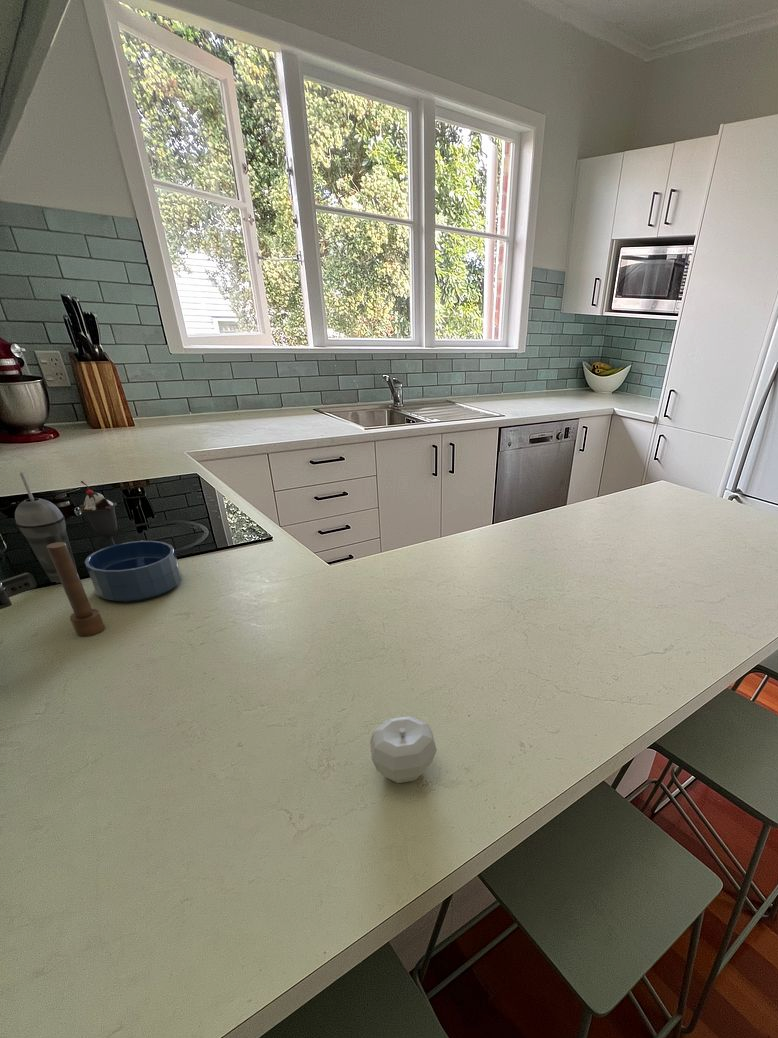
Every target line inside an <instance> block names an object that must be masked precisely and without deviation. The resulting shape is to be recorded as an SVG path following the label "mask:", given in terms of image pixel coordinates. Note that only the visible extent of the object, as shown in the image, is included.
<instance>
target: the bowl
mask: <svg viewBox="0 0 778 1038" xmlns="http://www.w3.org/2000/svg"><path fill="white" fill-rule="evenodd" d="M115 544H116V545H113V546H109V547H108V546H106V547H103V548H100V549H99V550H96V551H94V552H92V553H90V554H89V555H88V556H87V557H86V558H85V560H84V566H85V568H86V570H87V574H88V576H89V578H90V582H91V584H92V587H93V589H94V591H95V593H96V596H98V597H99V598H102V599H104V600H109V601H114V602H118V603H119V602H121V603H130V602H131V603H132V602H140V601H141V602H142V601H146V600H150V599H154V598H157V597H159V596H162V595H165V594H167V593H168V592H170V591H172V590H173V589H174V588H175V587H176V586H177V585H179V583H181V581H182V576H183V575H182V572H181V568H180V564H179V561H178V558H177V555H176V551H175V548H174V547H173V546H172V544H170V543H167V542H164V541H158V540H137V541H136V540H135V541H126V542H122V543H115Z"/></svg>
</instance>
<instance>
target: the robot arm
mask: <svg viewBox="0 0 778 1038" xmlns="http://www.w3.org/2000/svg"><path fill="white" fill-rule="evenodd" d="M0 575H2V569H1V568H0ZM37 584H38V583H37V581H36V579H35V576H34V575H33V574H32V573H29V572H23V573H21V574H18V575H14V576H12V577H11V576H10V577H8V578H6V579H2V580H0V610H3V609H7V608H9V607H11V606H12V605H13V603H12V600H11V599H10V598H11V597H15V596H17V595H19V594H22V593H25V592H27V591H30V590H34V589H35V588H36V587H37Z"/></svg>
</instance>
